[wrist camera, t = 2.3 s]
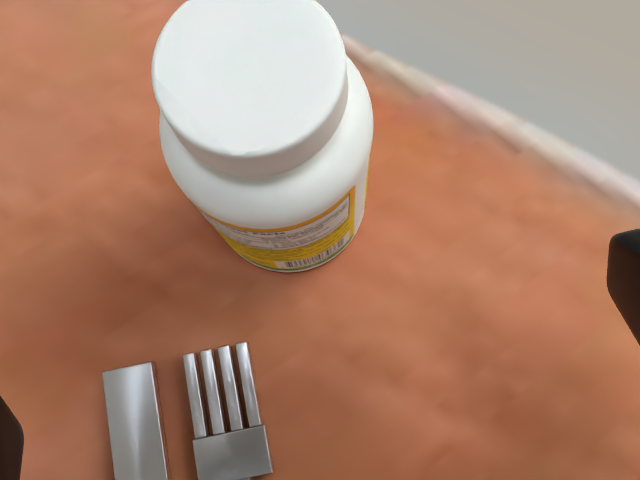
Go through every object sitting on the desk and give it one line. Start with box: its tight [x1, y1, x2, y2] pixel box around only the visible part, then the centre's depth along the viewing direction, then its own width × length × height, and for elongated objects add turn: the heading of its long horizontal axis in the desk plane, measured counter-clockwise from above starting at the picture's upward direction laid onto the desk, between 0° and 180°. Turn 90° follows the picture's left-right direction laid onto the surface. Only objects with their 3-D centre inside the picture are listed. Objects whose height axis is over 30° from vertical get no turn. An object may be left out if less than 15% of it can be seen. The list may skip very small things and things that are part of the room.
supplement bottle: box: [151, 0, 373, 272], centre depth 17 cm, size 5×5×10 cm
